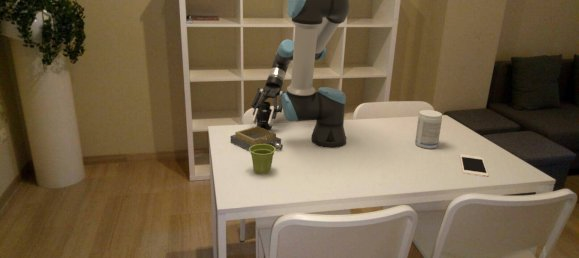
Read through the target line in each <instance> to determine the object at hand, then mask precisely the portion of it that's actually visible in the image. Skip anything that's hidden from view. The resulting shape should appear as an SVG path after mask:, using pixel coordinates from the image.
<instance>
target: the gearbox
mask: <svg viewBox="0 0 579 258" xmlns="http://www.w3.org/2000/svg"><path fill="white" fill-rule="evenodd" d="M230 143H231V144H233V145H235V146H237V147H239V148H242V149H244V150H246V151H248V152H250V151H249V148H250V147H251V146H253V145H257V144H268V145H271V146H274V147H275V149H277V150H278V151H281V150H283V144H282V138H280V137H278V136H277V133H275V132H273V131H271V130H266V129H263V128H261V127H258V126H257V125H256V126H251V127H250V128H245V129H242V130H241V129H240V130H238V131H235V133H234V134H232V135H230Z"/></svg>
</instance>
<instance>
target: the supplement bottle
mask: <svg viewBox="0 0 579 258" xmlns="http://www.w3.org/2000/svg"><path fill="white" fill-rule="evenodd" d="M259 107H260V108H259V109H258V110H257V121H256V126H258V127H261V128H263V129H266V130H268V131H271V129H273V124H272V125H271V126H269V124H268V121H269V118H270V115H271V112H272V108H271V102H269V101H265V102H260V106H259Z"/></svg>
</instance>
